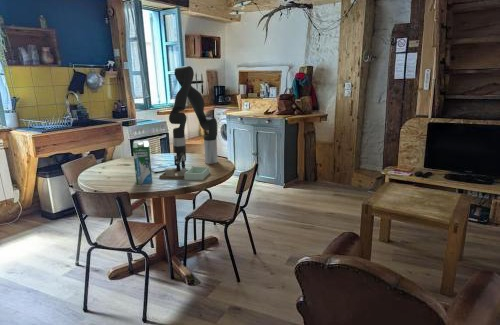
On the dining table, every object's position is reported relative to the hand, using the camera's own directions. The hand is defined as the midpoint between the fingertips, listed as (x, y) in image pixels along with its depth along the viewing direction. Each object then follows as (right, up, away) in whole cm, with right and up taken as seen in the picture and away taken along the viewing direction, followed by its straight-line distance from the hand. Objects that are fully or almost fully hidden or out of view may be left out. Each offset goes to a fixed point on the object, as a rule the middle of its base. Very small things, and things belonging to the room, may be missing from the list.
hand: (181, 169), depth 223 cm
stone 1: (-7, -4, +2) cm, 9 cm away
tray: (-3, -4, +2) cm, 6 cm away
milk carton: (-20, -8, -9) cm, 24 cm away
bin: (+11, -5, -1) cm, 12 cm away
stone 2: (0, -4, +1) cm, 4 cm away
